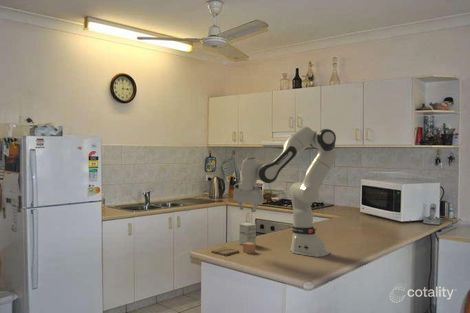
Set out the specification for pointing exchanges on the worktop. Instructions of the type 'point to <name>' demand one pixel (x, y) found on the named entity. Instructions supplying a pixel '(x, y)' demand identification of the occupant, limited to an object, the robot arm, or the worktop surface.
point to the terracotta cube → (249, 247)
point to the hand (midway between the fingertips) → (247, 210)
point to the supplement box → (247, 233)
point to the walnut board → (225, 251)
